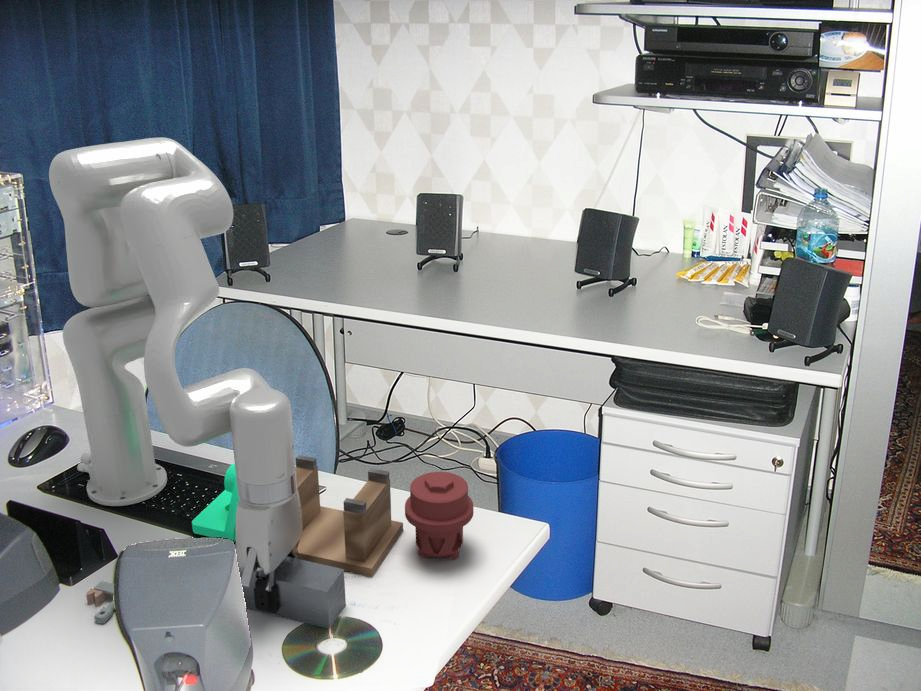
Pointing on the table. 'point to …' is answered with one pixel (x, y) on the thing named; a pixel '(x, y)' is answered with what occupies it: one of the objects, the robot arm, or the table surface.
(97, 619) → the clamp
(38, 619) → the table surface
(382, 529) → the rack
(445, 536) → the mechanical component
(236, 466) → the robot arm
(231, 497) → the camera mount
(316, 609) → the matte grey brick
